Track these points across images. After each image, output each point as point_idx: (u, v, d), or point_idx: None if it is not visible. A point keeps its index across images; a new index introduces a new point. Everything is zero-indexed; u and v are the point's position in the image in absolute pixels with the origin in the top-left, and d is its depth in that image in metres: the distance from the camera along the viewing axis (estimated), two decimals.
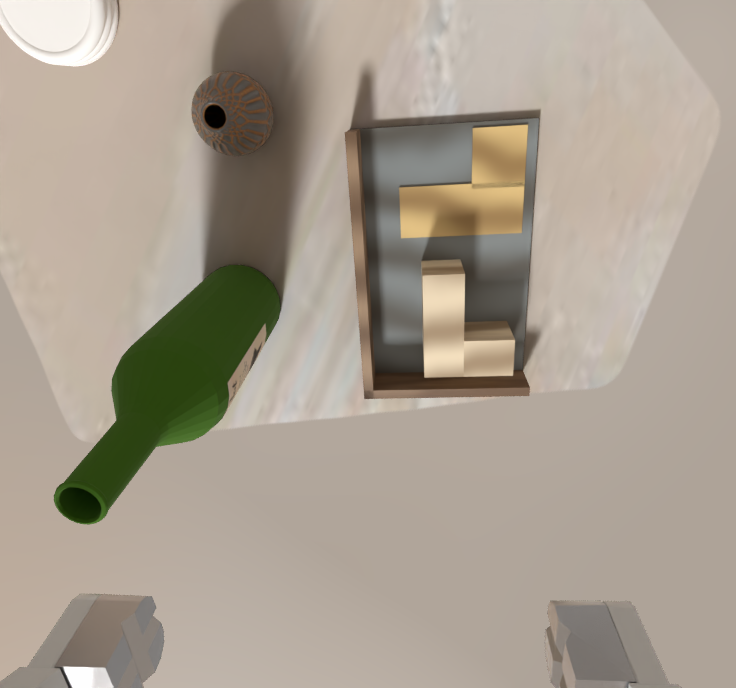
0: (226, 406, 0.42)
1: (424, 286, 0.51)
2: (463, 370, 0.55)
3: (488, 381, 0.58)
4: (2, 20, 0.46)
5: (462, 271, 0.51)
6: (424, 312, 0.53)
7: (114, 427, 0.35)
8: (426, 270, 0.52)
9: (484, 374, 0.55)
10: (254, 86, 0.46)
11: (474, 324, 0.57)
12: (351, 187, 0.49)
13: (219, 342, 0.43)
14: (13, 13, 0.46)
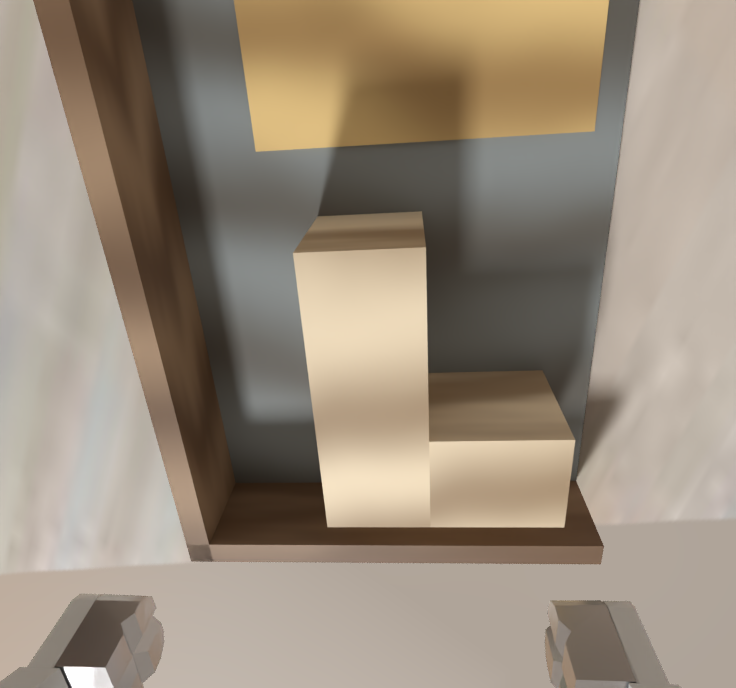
0: None
1: (302, 287, 0.17)
2: (430, 512, 0.20)
3: None
4: None
5: (419, 240, 0.17)
6: (310, 363, 0.18)
7: None
8: (314, 238, 0.18)
9: (486, 523, 0.20)
10: None
11: (461, 380, 0.23)
12: None
13: None
14: None
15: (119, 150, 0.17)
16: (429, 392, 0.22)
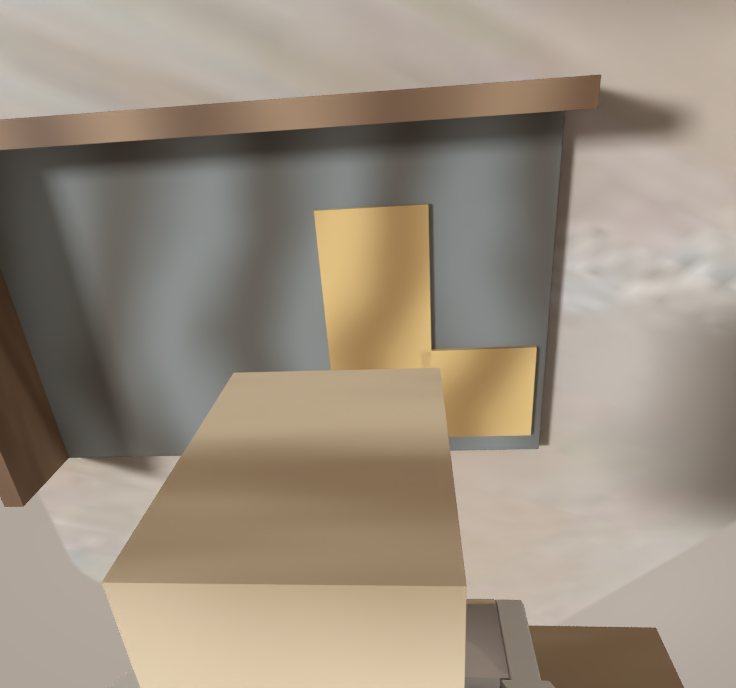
0: None
1: (140, 649, 0.06)
2: None
3: (15, 420, 0.26)
4: None
5: (445, 530, 0.06)
6: None
7: None
8: (189, 488, 0.07)
9: None
10: None
11: None
12: (454, 93, 0.18)
13: None
14: None
15: None
16: None
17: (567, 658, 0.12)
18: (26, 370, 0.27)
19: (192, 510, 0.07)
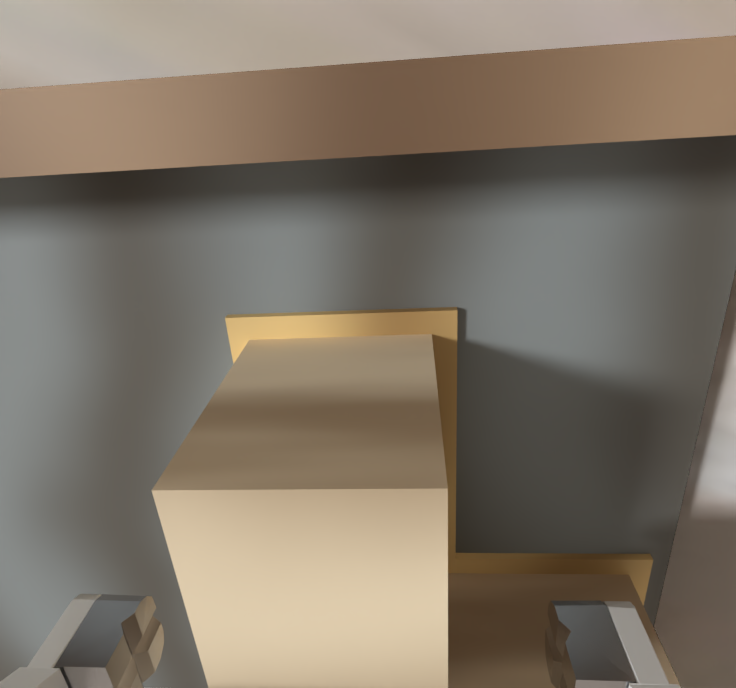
0: None
1: (180, 550, 0.08)
2: None
3: None
4: None
5: (432, 451, 0.08)
6: (211, 672, 0.09)
7: None
8: (217, 425, 0.09)
9: None
10: None
11: (496, 597, 0.14)
12: (563, 72, 0.06)
13: None
14: None
15: None
16: None
17: (548, 600, 0.13)
18: None
19: (221, 440, 0.08)
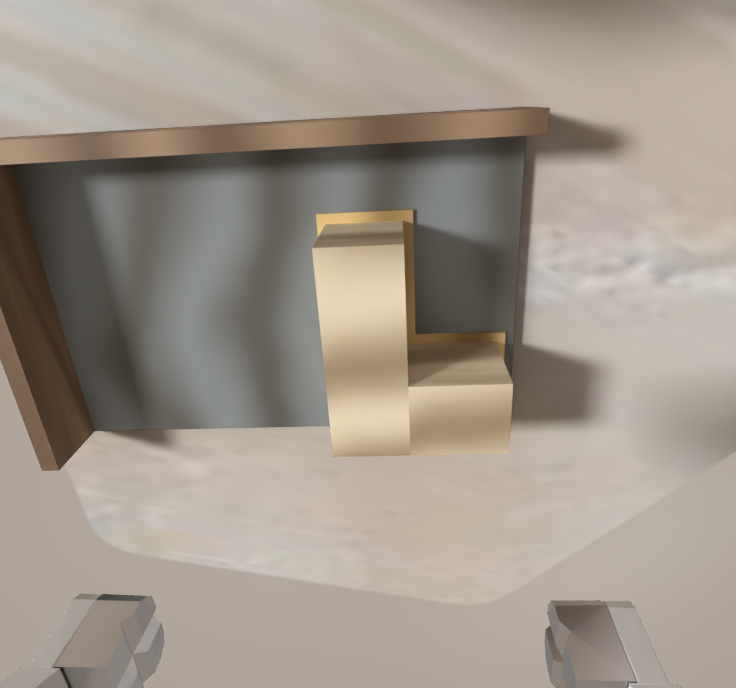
0: None
1: (318, 272, 0.24)
2: (409, 443, 0.27)
3: (53, 394, 0.30)
4: None
5: (400, 239, 0.24)
6: (322, 328, 0.25)
7: None
8: (325, 239, 0.25)
9: (451, 451, 0.27)
10: None
11: (433, 349, 0.30)
12: (433, 121, 0.22)
13: None
14: None
15: None
16: (409, 356, 0.29)
17: (456, 348, 0.30)
18: (61, 351, 0.31)
19: (328, 241, 0.24)
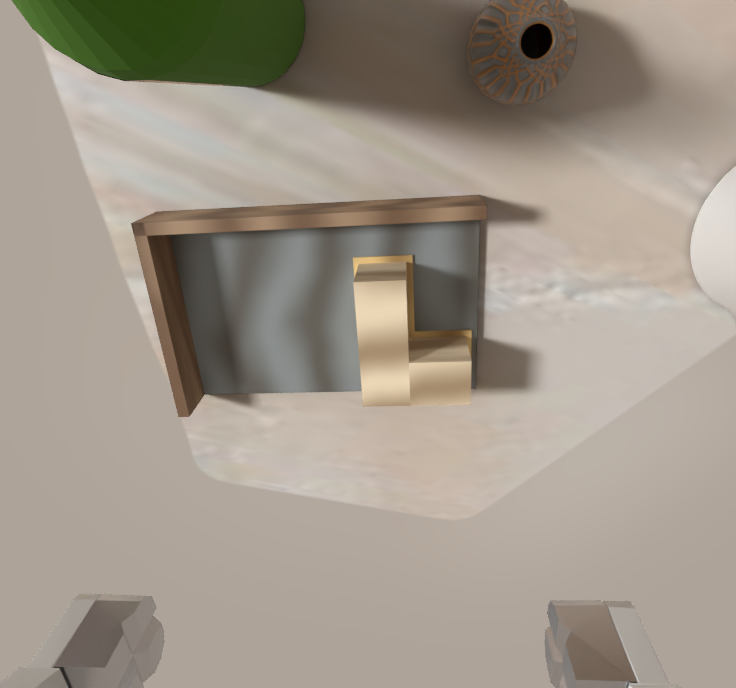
0: (101, 73, 0.23)
1: (356, 295, 0.41)
2: (410, 398, 0.45)
3: (186, 369, 0.48)
4: None
5: (403, 276, 0.41)
6: (358, 327, 0.42)
7: None
8: (360, 275, 0.42)
9: (435, 402, 0.45)
10: (554, 87, 0.35)
11: (425, 340, 0.47)
12: (422, 212, 0.39)
13: (216, 54, 0.25)
14: None
15: None
16: (410, 345, 0.46)
17: (440, 340, 0.47)
18: (189, 341, 0.49)
19: (362, 277, 0.42)
